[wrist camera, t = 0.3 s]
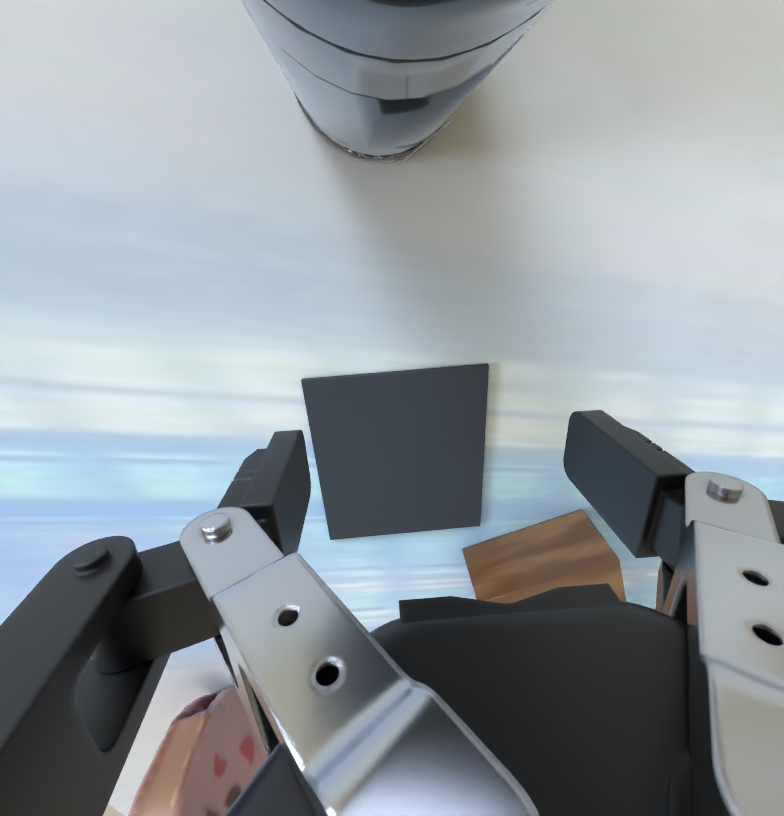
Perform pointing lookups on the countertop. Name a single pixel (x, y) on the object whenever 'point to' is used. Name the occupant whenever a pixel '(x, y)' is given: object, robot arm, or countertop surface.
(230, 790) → the face sculpture
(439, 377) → the rubber mat
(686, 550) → the robot arm
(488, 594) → the brown box
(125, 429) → the countertop surface
